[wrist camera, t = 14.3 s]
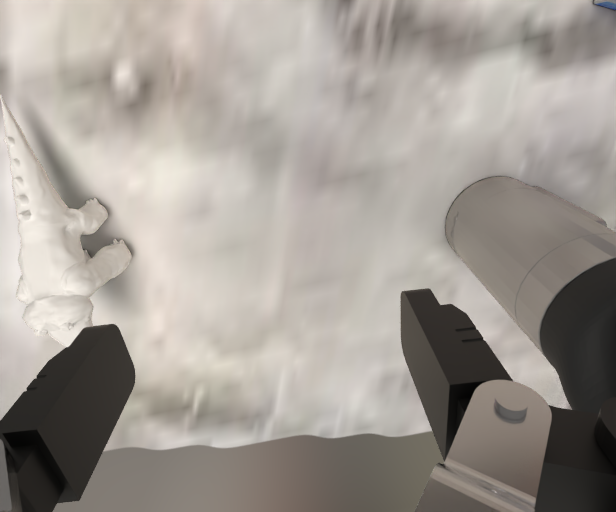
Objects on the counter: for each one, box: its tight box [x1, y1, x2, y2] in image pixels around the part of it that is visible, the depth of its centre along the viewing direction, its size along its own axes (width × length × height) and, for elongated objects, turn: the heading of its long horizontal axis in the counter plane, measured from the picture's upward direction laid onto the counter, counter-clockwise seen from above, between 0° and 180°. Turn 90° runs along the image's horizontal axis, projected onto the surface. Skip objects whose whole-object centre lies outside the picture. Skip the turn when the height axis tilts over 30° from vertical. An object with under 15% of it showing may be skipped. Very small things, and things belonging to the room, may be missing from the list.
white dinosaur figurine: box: [0, 94, 131, 347], centre depth 34 cm, size 7×24×11 cm, turn 12°
